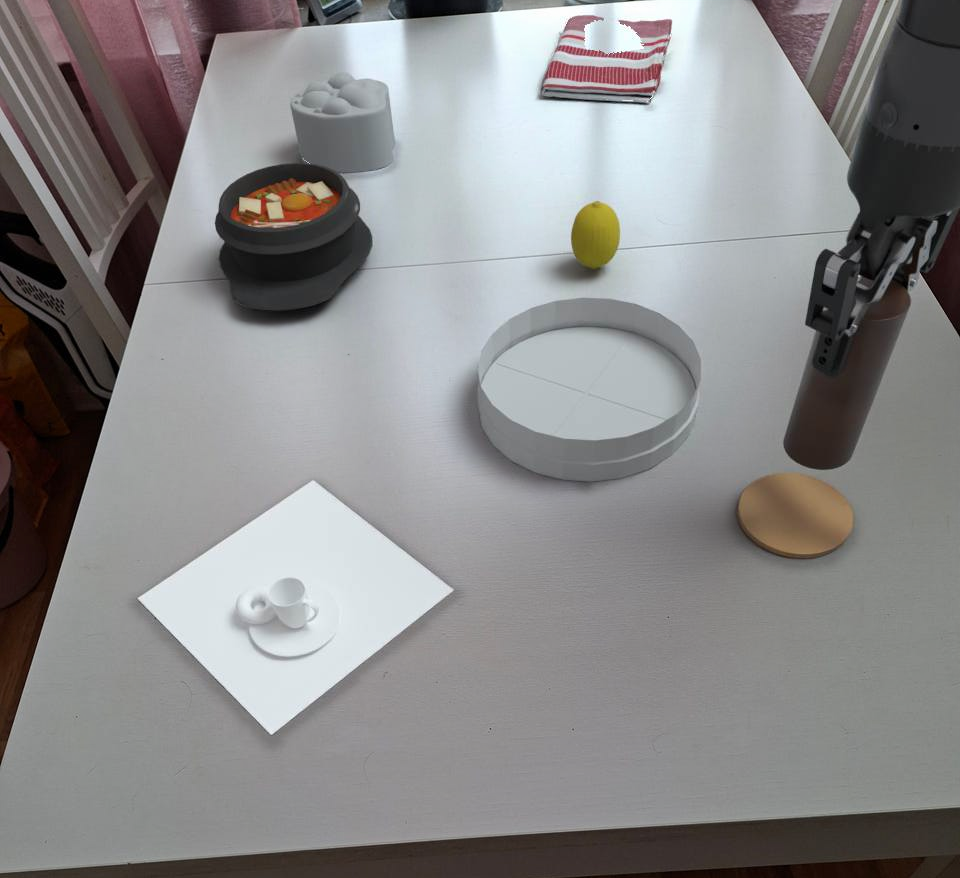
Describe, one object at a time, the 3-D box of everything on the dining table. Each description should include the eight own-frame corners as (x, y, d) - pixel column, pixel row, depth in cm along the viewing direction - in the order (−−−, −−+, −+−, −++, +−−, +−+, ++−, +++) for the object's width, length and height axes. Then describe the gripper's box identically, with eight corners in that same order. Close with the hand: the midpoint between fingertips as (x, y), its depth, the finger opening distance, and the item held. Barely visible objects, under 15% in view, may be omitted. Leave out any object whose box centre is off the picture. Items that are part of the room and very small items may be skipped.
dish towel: (672, 35, 139) (674, 15, 137) (654, 105, 126) (656, 85, 124) (566, 31, 142) (566, 12, 140) (538, 99, 129) (538, 79, 127)
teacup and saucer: (226, 618, 77) (212, 588, 74) (299, 566, 80) (288, 536, 77) (287, 676, 73) (275, 648, 70) (361, 619, 76) (353, 590, 73)
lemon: (566, 280, 103) (568, 213, 97) (574, 253, 106) (577, 187, 100) (613, 284, 102) (618, 217, 96) (620, 257, 105) (626, 190, 99)
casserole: (363, 322, 101) (351, 254, 94) (203, 327, 102) (179, 259, 95) (384, 204, 115) (374, 137, 108) (243, 209, 116) (225, 143, 109)
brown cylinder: (810, 414, 76) (857, 263, 64) (866, 445, 73) (927, 294, 62) (769, 446, 74) (811, 297, 62) (826, 480, 71) (881, 330, 60)
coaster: (782, 461, 84) (783, 456, 84) (874, 516, 80) (876, 511, 79) (714, 516, 81) (715, 512, 80) (806, 576, 76) (808, 572, 76)
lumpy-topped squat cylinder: (391, 170, 120) (382, 101, 113) (296, 175, 120) (281, 107, 113) (396, 132, 126) (387, 65, 119) (305, 137, 126) (292, 70, 119)
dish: (730, 373, 92) (739, 332, 88) (640, 511, 82) (645, 472, 78) (541, 316, 99) (541, 275, 95) (437, 436, 89) (432, 396, 85)
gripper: (922, 179, 48) (836, 422, 62) (1057, 85, 53) (950, 329, 67) (805, 134, 51) (749, 373, 65) (943, 50, 56) (863, 289, 70)
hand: (851, 350), depth 66 cm, fingers closed on brown cylinder, 5 cm apart
